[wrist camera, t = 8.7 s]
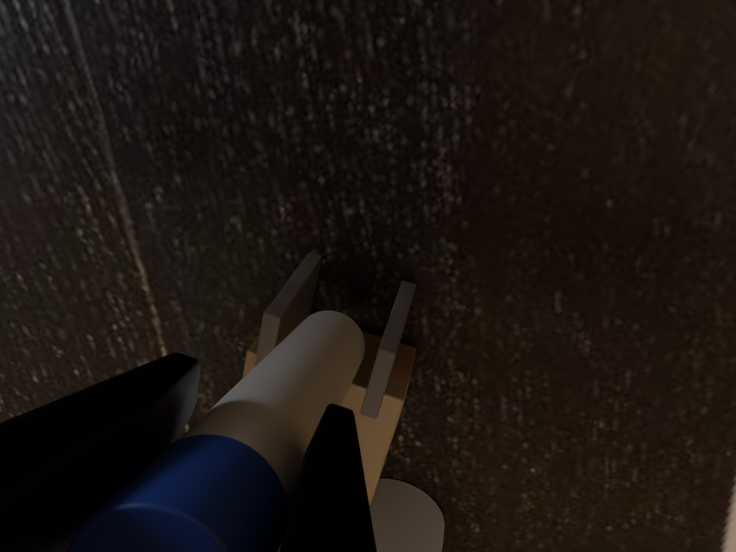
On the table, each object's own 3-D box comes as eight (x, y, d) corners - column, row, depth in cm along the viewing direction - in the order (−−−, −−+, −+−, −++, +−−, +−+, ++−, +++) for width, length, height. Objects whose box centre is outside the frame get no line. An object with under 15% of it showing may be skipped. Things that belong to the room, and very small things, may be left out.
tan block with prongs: (436, 289, 19) (420, 361, 16) (383, 453, 23) (359, 544, 19) (289, 245, 20) (239, 305, 16) (259, 412, 23) (211, 494, 19)
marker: (264, 542, 6) (218, 708, 7) (375, 320, 16) (355, 390, 17) (78, 478, 6) (43, 645, 7) (304, 298, 17) (285, 368, 17)
